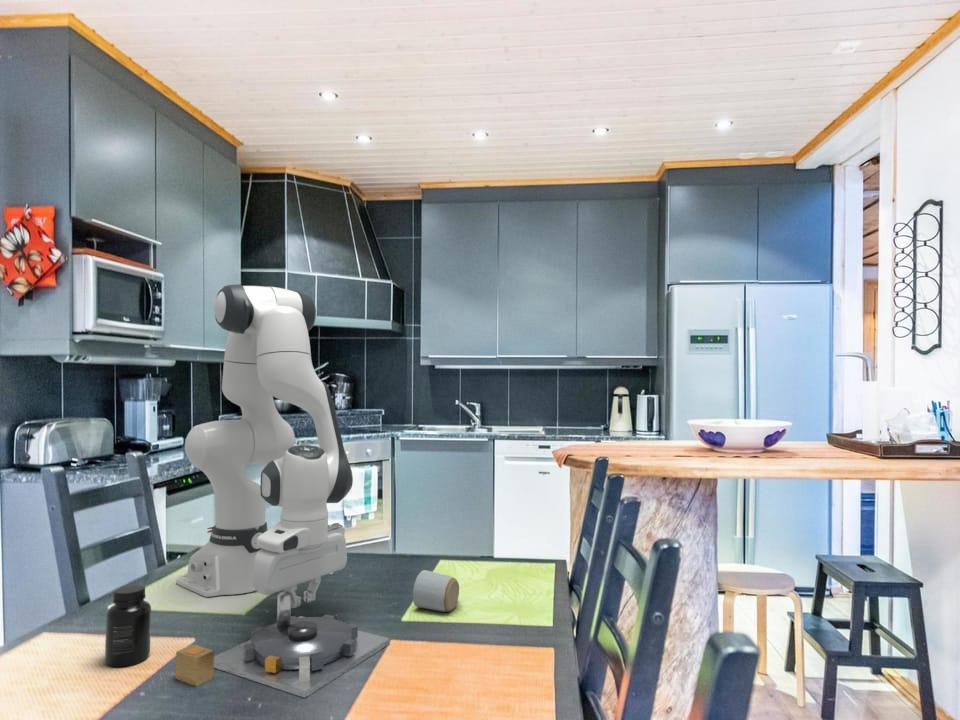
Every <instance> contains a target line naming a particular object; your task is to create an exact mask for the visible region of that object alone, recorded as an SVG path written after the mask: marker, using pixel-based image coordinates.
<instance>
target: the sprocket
mask: <svg viewBox="0 0 960 720" xmlns="http://www.w3.org/2000/svg"><path fill="white" fill-rule="evenodd" d="M276 599H277V602H276V603H277V605H276V606H277V607H276V611H277V612H276V622H275V623H272V624H270V625H267V626H265V627H260V626H257V627H256V628H254V629H252V630H251V631H250V632H251V633H250V639H251V643H250V644H245V645H244V647H243V657H244V659H245V661H249V660H255V661H256V662H257V663H259V664H261V665H263V666H265V671H266V672H273V673H276V672H278V671H279V670H280V669H299V657H306V656H310V669H311V671H314V670H319V669H323V668H324V664H326V663H329V662H331V661H334V660H336V659H338V658H340V657H341V656H343V655H345V656H351V655H352V654H353V653H354V652H355V651H356V640H354V638H358V631H359V629H358V627H359V626H357V624H356V623H354V622H353V623H348V624H347V623H346V622H344V621H342V620H339V619H336V618H335V615H332V614H331V615H330V614H324V615H322V616H309V617H308V616H302V617H303V618H298V617H297V616H296V615H293V616H292V615H291V612H292V611H291V610H292V608H291V593H287V592H285V591H282V592H279V593H278V594H277V598H276Z"/></svg>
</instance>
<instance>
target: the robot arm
mask: <svg viewBox="0 0 960 720" xmlns="http://www.w3.org/2000/svg"><path fill="white" fill-rule="evenodd" d="M213 307H214V309H213V310H214V311H213V312H214V317H215V321H216V323H217V324H218V326H219V327H220V328H221V329H223V330H224V331H228V334H227V339H226V343H225V347H224V348H225V349H224V358H223V369H222V379H221V380H222V383H221V391H222V393H223V396H224V397H225V398H226V399H227V400H228V401H230V402H231V403H232V404H234V405H236V406H239V407H240V410H241V413H242V414H241V415H242V417H241V419H227V420H225V419H224V420H213V421H208V422H203V423H200V424H197V425H194V426H193V427H192V428H191V429H190V430H189V432H188V434H187V435H186V437H185V442H184V451H185V452H184V453H185V455H186V458H187V459H188V461H189V462H190V463H191V464H192V465H193V466H194V467H196V468H197V469H199V470H200V471H201V472H202V473H203V474H204V475H205V476H206V478H207V479H208V480H209V482H210V484H211V487H212V490H213V493H214V502H215V504H214V506H215V523H214V524H215V525H214V526H212V527H211V526H210V527H207V528H206V529H207V530H208V531H206V533H207V534H209V533H211V534H210V537H209V539H208V540H209V541H208V542H207V543H205V544H204V545H202V547H200V548H199V549H198V550H197V551H195V553H193V554H192V555H191V556H190V558H189V561H188V566H187V573H184V574H183V575H181V576H179V577H178V578H176V580H175V584H177V585H179V586H180V587H183V588H185V589H187V590H189V591H192V592H193V593H196V594H198V595H200V596H202V597H204V598H208V597H210V598H211V597H218V596H224V595H225V596H226V595H227V596H229V595H241V594H247V593H252V592H257V593H260V594H262V595H264V596H265V595H266V596H268V595H272V594H275V593H278V592H280V591H283V592H287V593H291V609H295V608H298V607H300V606H302V597H301V596H298V595H297V593H296V592H295V591H297V590H298V585H300V584H302V583H305V582H309V584H308V586H307V589H306V590H304V591H303V600H304V602H307V603H311V602H313V601H315V600H316V598H317V597H316V596H317V595H316V593H317V590H318V588H319V586H320V584H321V582H322V581H321V580H322V577H324V576H325V575H326V576H327V575H328V574H331V573H335V572H337V571H340V570H343V569H344V568H345V567H346V566H347V563H348V562H347V561H348V551H347V550H348V549H347V543H346V537H345V533H346V532H345V527H344V526H343V524H341V523H339V522H336V523H335V522H334V523H332V524H329V509H328V507H327V504H338V503H340V502H342V500H343V499H344V498H345V497H346V496H348V494H349V492H351V489H352V486H353V484H354V481H353V479H354V478H353V472H352V468H351V465H350V463H349V460H348V459H349V458H348V457H347V455H346V450H345V447H344V443H343V438H342V435H341V433H342V432H341V431H340V427H339V426H340V425H339V421H338V416H337V413H336V408H335V404H334V400H333V398H332V393H331V390H330V388H329V386H328V384H327V383H326V382H324V381H323V380H321V379H320V378H319V376H318V374H317V373H316V370H315V368H314V366H313V360H312V353H311V343H310V341H311V340H310V336H309V332H310V331H311V330H312V328H313V327H314V325H315V322H316V317H317V309H316V303H315V302H314V299H313V298H312V296H310V295H309V294H308V293H305V292H302V291H298V290H290V289H287V288H283V287H276V286H263V285H262V286H261V285H242V284H240V283H239V284H228V285H224V286H223V287H222V288H221V289H220V290H219V291H218V292H217V295H216V298H215V300H214V305H213ZM274 398H276V399H278V400H280V401H282V402H286V403H288V404H291V405H294V406H296V407H298V408H301V409H302V410H304V411H305V412H307V413H308V414H309V415H310V417H311V418H312V420H313V423H314V428H315V432H316V437H317V442H318V445H319V446H316V445H311V444H298V445H295V442H296V436H295V432H294V430H293V427H292V426H291V425H290V424H289V422H287V421H286V420H285V419H284V418H283V417H282V416H281V415H280V413H279V411H278V409H277V407H276V405H275V402H274ZM263 464H266V465H265V466H264V468H263V469H262V471H261V472H260V484H259V483H258V482H255V481H252V480H251V479H248V477H247V475H246V471H245V467H246V466H255V465H263ZM266 502H267V503H266ZM266 504H269V505H271V506H273V507H282V510H281V514H280V521H279V522H277V523H276V524H274V526H272V527H270V528H269V529H268V523H267V521H266V507H267V506H266Z"/></svg>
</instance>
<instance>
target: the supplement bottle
mask: <svg viewBox="0 0 960 720" xmlns="http://www.w3.org/2000/svg"><path fill="white" fill-rule="evenodd" d="M145 599H146V586H144V585H137V584H134V585H133V584H132V585H127V586H123V587H122V586H121V587H119V588H116V589H115V590H113V598H112V603H113V605H112V606H111V607H109V608H108V609H107V612H106V615H105V645H104V647H105V650H104V655H105V656H104V661H105V664H106V665H107V666H109V667H113V668H123V667H129V666H133V665H136V664H139V663H141V662H143V661H145V660H146V659H147V658H148V657H149V656H150V653H151V635H152V634H151V629H152V627H151V626H152V623H151V622H152V606H151V604H150V603H149V602H148V601H146V600H145Z"/></svg>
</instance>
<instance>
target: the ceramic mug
mask: <svg viewBox="0 0 960 720" xmlns="http://www.w3.org/2000/svg"><path fill="white" fill-rule="evenodd" d="M459 595H460V585H459V581H458V579H457V578H455V577H453V576H451V575H447V574H443V573H439V572H435V571H431V570H426V569H424V570H421V571H420V572H419V573H418V575H417V576H416V579H415V581H414V584H413V591H412V601H413V605H414V606H415V607H416V608H420V609H426V610H432V611H438V612H442V613H443V612H446V613H447V612H448V613H449V612H451V611H452V610H453V609H454V608H455V607H456V606H457V603H458V601H459Z"/></svg>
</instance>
